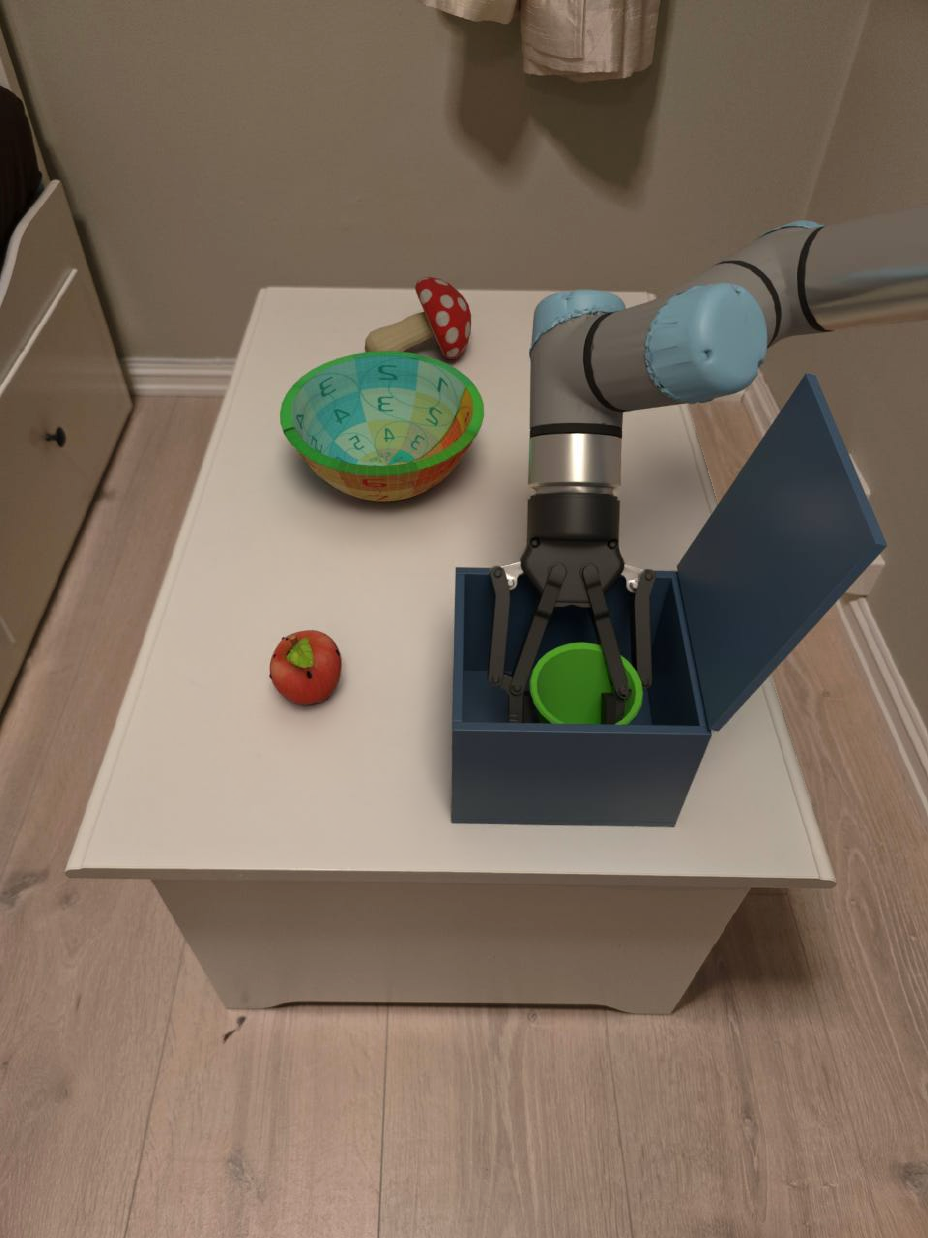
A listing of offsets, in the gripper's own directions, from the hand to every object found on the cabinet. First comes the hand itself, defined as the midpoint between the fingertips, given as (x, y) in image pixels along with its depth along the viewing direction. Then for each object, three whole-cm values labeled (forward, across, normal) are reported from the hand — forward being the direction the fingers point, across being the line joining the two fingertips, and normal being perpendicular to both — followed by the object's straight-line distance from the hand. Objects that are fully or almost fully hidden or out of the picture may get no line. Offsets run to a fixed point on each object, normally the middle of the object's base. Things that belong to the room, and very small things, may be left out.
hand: (565, 771), depth 75 cm
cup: (0, -1, -5) cm, 5 cm away
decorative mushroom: (-45, +16, -52) cm, 70 cm away
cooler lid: (-18, -12, +10) cm, 24 cm away
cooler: (-1, 0, -7) cm, 7 cm away
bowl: (-27, +18, -33) cm, 46 cm away
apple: (-4, +23, -11) cm, 26 cm away
